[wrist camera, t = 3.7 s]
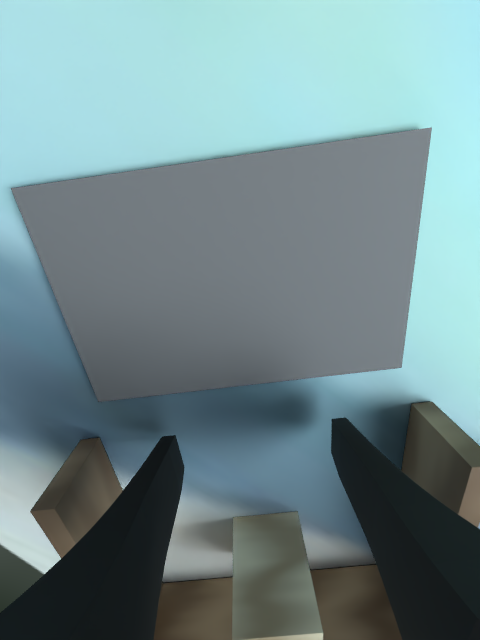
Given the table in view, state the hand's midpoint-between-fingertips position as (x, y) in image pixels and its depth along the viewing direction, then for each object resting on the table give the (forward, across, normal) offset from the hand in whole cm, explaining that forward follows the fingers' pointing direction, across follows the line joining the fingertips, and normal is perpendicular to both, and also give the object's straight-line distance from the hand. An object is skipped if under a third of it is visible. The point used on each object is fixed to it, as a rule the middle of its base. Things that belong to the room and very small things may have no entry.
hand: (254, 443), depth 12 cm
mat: (+1, 0, -7) cm, 7 cm away
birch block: (+2, 0, +10) cm, 10 cm away
